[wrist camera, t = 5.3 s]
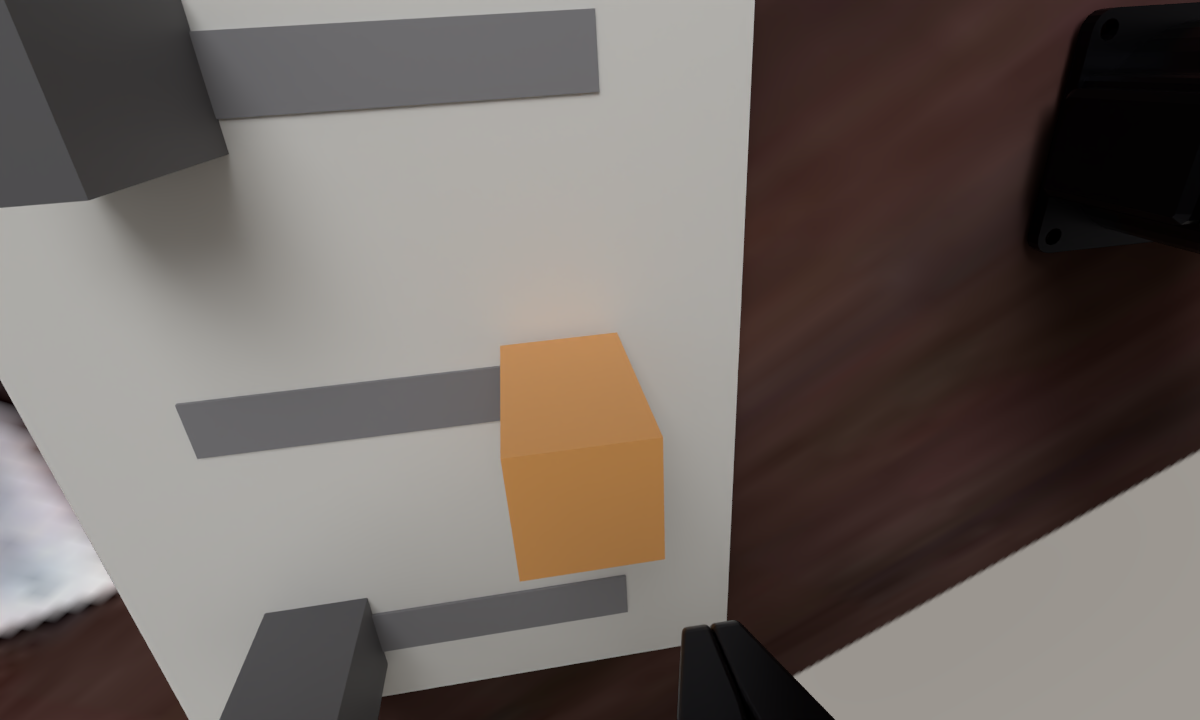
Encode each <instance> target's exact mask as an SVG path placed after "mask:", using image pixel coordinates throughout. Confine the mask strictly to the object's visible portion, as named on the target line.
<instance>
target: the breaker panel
mask: <svg viewBox="0 0 1200 720" xmlns="http://www.w3.org/2000/svg"><path fill="white" fill-rule="evenodd" d="M754 6H755V0H0V380H1V382H2V384H3V386H4V387H5V389H6V391H7V393H8V395H9V396H10V398H11V400H12V402H13V404H14V405H15V407H16V409H17V411H18V413H19V414H20V416H21V418H22V420H23V422H24V423H25V425H26V427H27V429H28V431H29V432H30V434H31V436H32V438H33V440H34V441H35V443H36V445H37V447H38V449H39V450H40V452H41V454H42V456H43V458H44V459H45V461H46V463H47V465H48V467H49V468H50V470H51V472H52V474H53V476H54V477H55V479H56V481H57V483H58V485H59V486H60V488H61V490H62V492H63V494H64V495H65V497H66V499H67V501H68V503H69V504H70V506H71V508H72V510H73V512H74V513H75V515H76V517H77V519H78V521H79V522H80V524H81V526H82V528H83V530H84V531H85V533H86V535H87V537H88V539H89V540H90V542H91V544H92V546H93V548H94V549H95V551H96V553H97V555H98V557H99V558H100V560H101V562H102V564H103V566H104V567H105V569H106V571H107V573H108V575H109V576H110V578H111V580H112V582H113V584H114V585H115V587H116V589H117V591H118V593H119V594H120V596H121V598H122V600H123V602H124V603H125V605H126V607H127V609H128V611H129V612H130V614H131V616H132V618H133V620H134V621H135V623H136V625H137V627H138V629H139V630H140V632H141V634H142V636H143V638H144V639H145V641H146V643H147V645H148V647H149V648H150V650H151V652H152V654H153V656H154V657H155V659H156V661H157V663H158V665H159V666H160V668H161V670H162V672H163V674H164V675H165V677H166V679H167V681H168V683H169V684H170V686H171V688H172V690H173V692H174V693H175V695H176V697H177V699H178V701H179V702H180V704H181V706H182V708H183V710H184V711H185V713H186V715H187V717H188V719H189V720H378V715H379V710H380V704H381V699H382V697H383V696H389V695H395V694H401V693H407V692H413V691H419V690H424V689H430V688H436V687H442V686H448V685H454V684H460V683H465V682H471V681H477V680H483V679H489V678H495V677H501V676H506V675H512V674H518V673H524V672H530V671H536V670H542V669H548V668H553V667H559V666H565V665H571V664H577V663H583V662H589V661H594V660H600V659H606V658H612V657H618V656H624V655H630V654H635V653H641V652H647V651H653V650H659V649H665V648H671V647H677V646H681V635H682V630H683V628H684V627H689V626H696V625H703V624H705V625H708V626H709V627H710V626H711V624H713V623H717V622H724V621H727V600H728V578H729V556H730V534H731V512H732V490H733V468H734V446H735V424H736V402H737V380H738V358H739V336H740V314H741V292H742V270H743V248H744V226H745V204H746V182H747V160H748V138H749V116H750V94H751V72H752V50H753V28H754ZM616 332H617V334H618V336H619V338H620V340H621V343H622V345H623V347H624V350H625V352H626V354H627V356H628V359H629V361H630V363H631V366H632V368H633V370H634V372H635V375H636V377H637V379H638V381H639V384H640V386H641V388H642V391H643V393H644V395H645V397H646V400H647V402H648V404H649V407H650V409H651V411H652V413H653V416H654V418H655V420H656V422H657V425H658V427H659V429H660V432H661V434H662V436H663V465H664V527H665V559H663V560H657V561H650V562H644V563H637V564H631V565H624V566H618V567H611V568H605V569H599V570H592V571H586V572H579V573H573V574H566V575H560V576H553V577H547V578H540V579H534V580H527V581H521V582H520V580H519V573H518V567H517V561H516V554H515V548H514V542H513V535H512V529H511V523H510V516H509V510H508V504H507V497H506V491H505V485H504V479H503V472H502V466H501V460H500V346H502V345H511V344H520V343H529V342H537V341H546V340H555V339H564V338H572V337H581V336H590V335H599V334H608V333H616Z"/></svg>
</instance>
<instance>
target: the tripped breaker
mask: <svg viewBox="0 0 1200 720" xmlns="http://www.w3.org/2000/svg"><path fill="white" fill-rule="evenodd" d="M500 460H501V466H502V472H503V479H504V485H505V491H506V497H507V504H508V510H509V516H510V523H511V529H512V535H513V542H514V548H515V554H516V561H517V567H518V573H519V580H520V582H521V581H527V580H534V579H540V578H547V577H553V576H560V575H566V574H573V573H579V572H586V571H592V570H599V569H605V568H611V567H618V566H624V565H631V564H637V563H644V562H650V561H657V560H663V559H665V527H664V465H663V436H662V434H661V432H660V429H659V427H658V425H657V422H656V420H655V418H654V416H653V413H652V411H651V409H650V407H649V404H648V402H647V400H646V397H645V395H644V393H643V391H642V388H641V386H640V384H639V381H638V379H637V377H636V375H635V372H634V370H633V368H632V366H631V363H630V361H629V359H628V356H627V354H626V352H625V350H624V347H623V345H622V343H621V340H620V338H619V336H618V334H617V332H616V333H608V334H599V335H590V336H581V337H572V338H564V339H555V340H546V341H537V342H529V343H520V344H511V345H502V346H500Z"/></svg>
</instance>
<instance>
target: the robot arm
mask: <svg viewBox="0 0 1200 720" xmlns="http://www.w3.org/2000/svg"><path fill="white" fill-rule="evenodd" d="M1104 23H1105V31H1104V33H1103V35H1102V36H1100V35H1101V29H1102V26H1103V24H1104ZM1050 231H1051V233H1050V235H1049V237H1048V238H1047V239H1046V236H1047V234H1048V233H1049V232H1050ZM1145 242H1158V243H1162V244H1166V245H1169V246H1173V247H1177V248H1180V249H1184V250H1188V251H1192V252H1195V253H1199V254H1200V2H1197V3H1181V4H1165V5H1149V6H1133V7H1117V8H1106V9H1100V10H1096V11H1094V12H1093V13H1092V14H1090V15H1089V16H1088V17H1087V18H1086V20H1085V21H1084V22H1083V24H1082V27H1081V29H1080V31H1079V35H1078V39H1077V43H1076V47H1075V51H1074V55H1073V59H1072V63H1071V67H1070V71H1069V75H1068V79H1067V83H1066V87H1065V91H1064V95H1063V99H1062V103H1061V107H1060V111H1059V115H1058V119H1057V122H1056V126H1055V130H1054V134H1053V138H1052V142H1051V146H1050V150H1049V154H1048V158H1047V162H1046V166H1045V170H1044V174H1043V178H1042V182H1041V186H1040V190H1039V194H1038V198H1037V202H1036V206H1035V210H1034V214H1033V218H1032V221H1031V225H1030V229H1029V233H1028V243H1029V246H1030V247H1032V248H1033V249H1036V250H1038V251H1041V252H1046V253H1053V252H1062V251H1071V250H1081V249H1090V248H1099V247H1108V246H1118V245H1127V244H1136V243H1145ZM677 720H835V719H834V718H833V717H832V716H831V715H830V714H829V713H828V712H827V711H826V710H825V709H824V708H823V707H822V706H821V705H820V704H819V703H818V702H817V701H816V700H815V699H814V698H813V697H812V696H811V695H810V694H809V693H808V692H807V690H805V688H804V687H802V685H801V684H800V683H799V682H798V681H796V679H795V678H794V677H793V676H792V675H791V674H790V673H789V672H788V671H787V670H786V669H785V668H784V667H783V666H782V665H781V664H780V663H779V662H778V661H777V660H776V659H775V658H774V657H773V656H772V655H771V654H770V653H769V652H768V651H767V649H766V648H765V647H764V646H763V645H762V644H761V643H760V642H759V641H758V640H757V639H756V638H755V637H754V636H753V635H752V634H751V633H750V632H749V631H748V630H747V629H746V628H745V627H744V626H743V625H742V624H741V623H740V622H738V621H736V620H730V621H724V622H717V623H713V624H711V626H710V627H709V626H708V625H705V624H703V625H696V626H689V627H684V628H683V630H682V635H681V653H680V671H679V690H678V708H677Z"/></svg>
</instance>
